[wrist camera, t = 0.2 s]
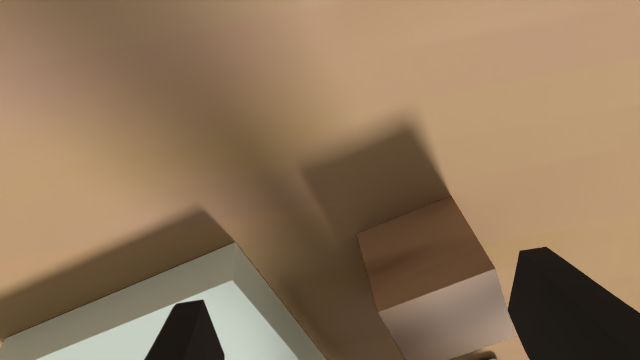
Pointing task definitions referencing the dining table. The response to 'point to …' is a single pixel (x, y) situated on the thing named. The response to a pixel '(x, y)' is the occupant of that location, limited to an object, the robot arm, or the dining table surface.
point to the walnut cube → (434, 284)
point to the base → (155, 306)
